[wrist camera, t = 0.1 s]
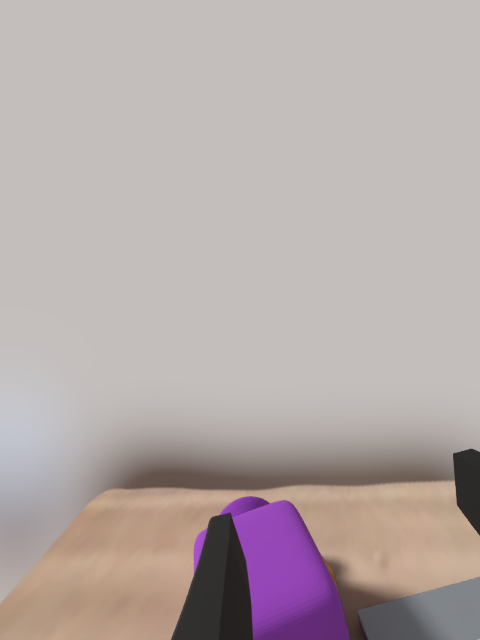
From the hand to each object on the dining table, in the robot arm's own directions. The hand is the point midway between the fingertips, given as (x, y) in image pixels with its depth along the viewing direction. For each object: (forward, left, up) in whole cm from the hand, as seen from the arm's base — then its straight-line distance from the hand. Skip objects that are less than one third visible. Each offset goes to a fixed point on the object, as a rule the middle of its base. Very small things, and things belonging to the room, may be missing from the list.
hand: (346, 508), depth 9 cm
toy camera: (+12, +5, -22) cm, 25 cm away
